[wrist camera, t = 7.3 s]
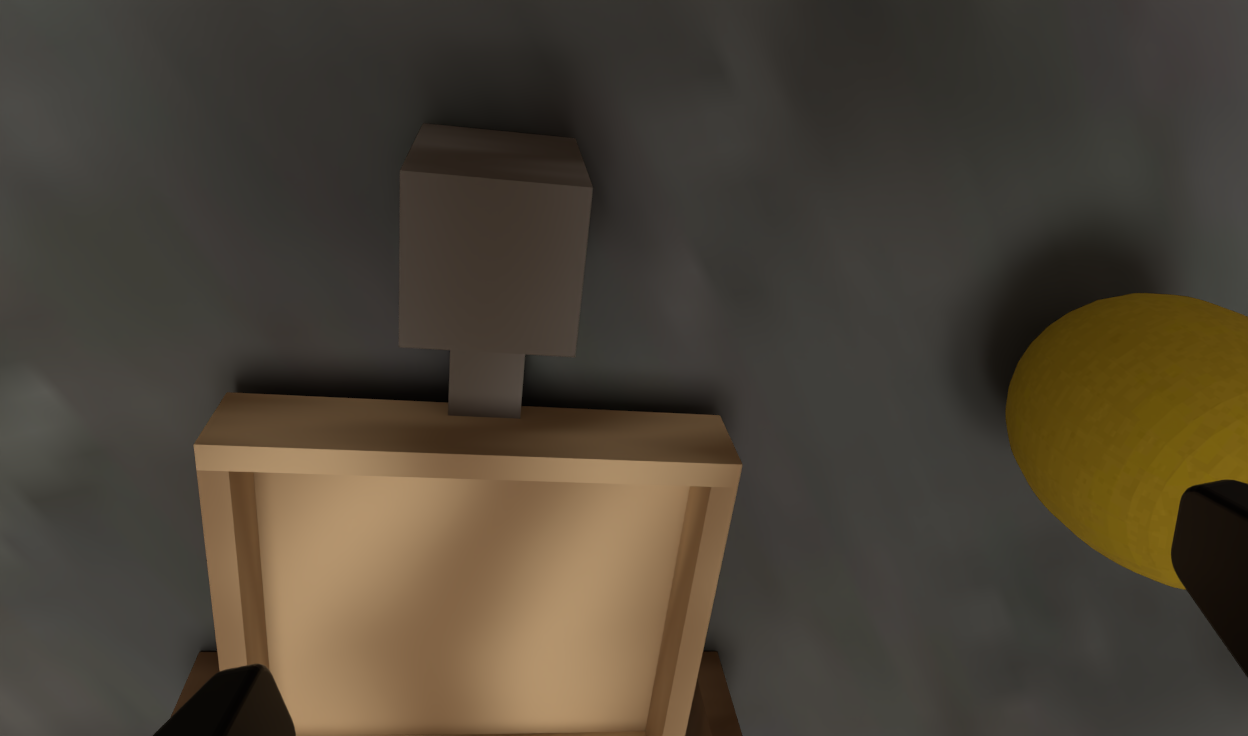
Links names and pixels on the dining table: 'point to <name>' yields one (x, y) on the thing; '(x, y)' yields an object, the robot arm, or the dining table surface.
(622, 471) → the wooden drawer
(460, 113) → the dining table surface
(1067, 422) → the lemon
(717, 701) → the open wooden box
